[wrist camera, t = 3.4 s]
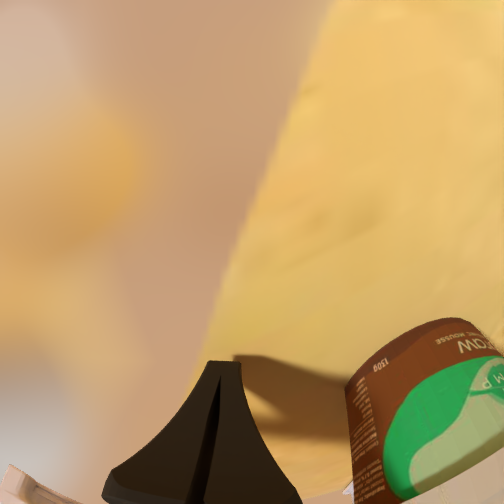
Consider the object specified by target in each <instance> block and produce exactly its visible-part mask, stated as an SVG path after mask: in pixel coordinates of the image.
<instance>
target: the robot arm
mask: <svg viewBox="0 0 504 504" xmlns="http://www.w3.org/2000/svg"><path fill="white" fill-rule="evenodd" d="M343 494H344V495H345V494H351V495H352V501H353V504H354V489H353V481H352V482H351V483H350V484H349V485H348V486H347V487H346V488H345V490H344V491H343ZM101 496H102V498H103V499H104V500H105V501H106V502H107V503H109V504H303V503H302V500H301V498H300V496H299V495H298V493H297V490H296V489H295V487H294V486H293V485H292V484H291V482H290V481H289V480H288V479H287V477H286V476H285V475H284V473H283V472H282V470H281V469H280V467H279V466H278V465H277V463H276V461H275V460H274V458H273V457H272V455H271V453H270V452H269V450H268V448H267V447H266V445H265V443H264V441H263V439H262V437H261V435H260V433H259V431H258V429H257V426H256V424H255V422H254V419H253V417H252V414H251V412H250V409H249V406H248V403H247V399H246V396H245V393H244V388H243V384H242V378H241V363H239V362H234V361H211V360H210V361H208V362H207V364H206V367H205V369H204V371H203V373H202V375H201V377H200V378H199V380H198V382H197V384H196V385H195V387H194V389H193V390H192V392H191V393H190V395H189V397H188V398H187V400H186V401H185V402H184V404H183V405H182V406H181V408H180V409H179V411H178V412H177V413H176V414H175V416H174V417H173V418H172V419H171V421H170V422H169V423H168V424H167V425H166V426H165V428H163V430H161V432H160V433H159V434H158V435H157V436H156V437H155V438H153V439H152V440H151V441H150V442H149V443H148V444H147V445H146V446H145V447H143V448H142V449H141V450H140V451H138V452H137V453H136V454H135V455H133V456H132V457H131V458H129V459H128V460H126V461H125V462H123V463H122V464H120V465H119V466H117V467H115V468H114V469H112V470H111V472H110V474H109V476H108V478H107V480H106V482H105V485H104V488H103V492H102V495H101ZM0 504H81V503H79V502H77V501H74V500H72V499H70V498H68V497H65V496H63V495H61V494H59V493H57V492H55V491H53V490H51V489H49V488H47V487H45V486H43V485H41V484H40V483H38V482H36V481H35V480H34V479H33V478H32V477H30V476H29V475H27V474H26V473H24V472H23V471H21V470H19V469H18V468H16V467H14V466H13V465H9V466H8V469H7V471H6V473H5V475H4V478H3V480H2V482H1V485H0Z"/></svg>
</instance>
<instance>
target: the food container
mask: <svg viewBox="0 0 504 504" xmlns="http://www.w3.org/2000/svg"><path fill="white" fill-rule="evenodd" d="M345 397H346V405H347V414H348V423H349V434H350V445H351V457H352V471H353V489H354V504H504V358H503V357H502V355H501V354H500V353H499V352H498V351H497V350H496V349H495V348H494V347H493V346H492V344H491V343H490V342H489V341H488V340H487V339H486V338H485V337H484V336H483V335H482V334H481V333H480V332H479V331H478V330H477V329H476V328H475V327H474V326H473V325H472V324H471V323H470V322H468V321H466V320H463V319H461V318H452V317H451V318H442V319H438V320H434V321H430V322H427V323H425V324H422V325H420V326H417V327H415V328H413V329H411V330H409V331H408V332H406V333H404V334H402V335H400V336H399V337H397V338H396V339H394V340H392V341H391V342H389V343H388V344H387V345H385V346H384V347H383V348H381V349H380V350H378V351H377V352H376V353H375V354H374V355H373V356H371V357H370V358H369V359H368V360H367V361H366V362H365V363H364V364H363V365H362V366H361V367H360V368H359V369H358V370H357V372H356V373H355V374H354V375H353V377H352V378H351V379H350V381H349V383H348V384H347V386H346V388H345Z"/></svg>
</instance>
